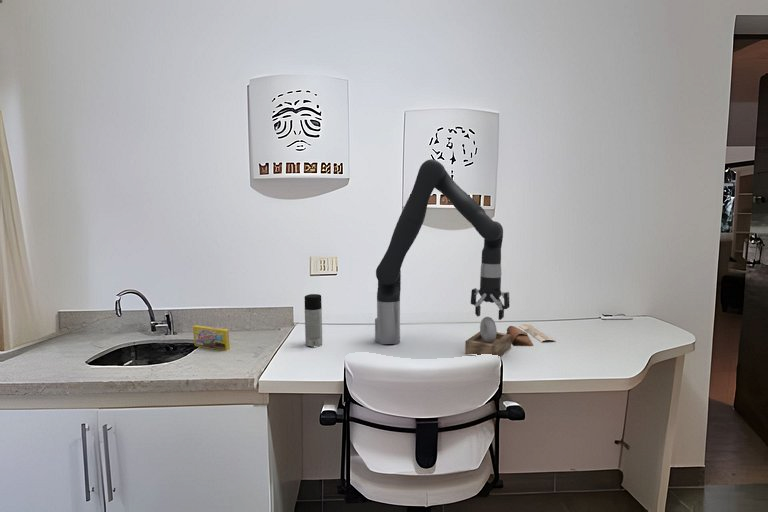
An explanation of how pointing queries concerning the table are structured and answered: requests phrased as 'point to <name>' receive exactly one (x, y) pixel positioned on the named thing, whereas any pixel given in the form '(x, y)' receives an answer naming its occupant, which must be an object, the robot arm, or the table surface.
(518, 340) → the sunglasses case
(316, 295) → the spray can
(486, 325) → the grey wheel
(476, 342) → the walnut base
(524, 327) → the newspaper
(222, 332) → the candy box
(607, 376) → the table surface
